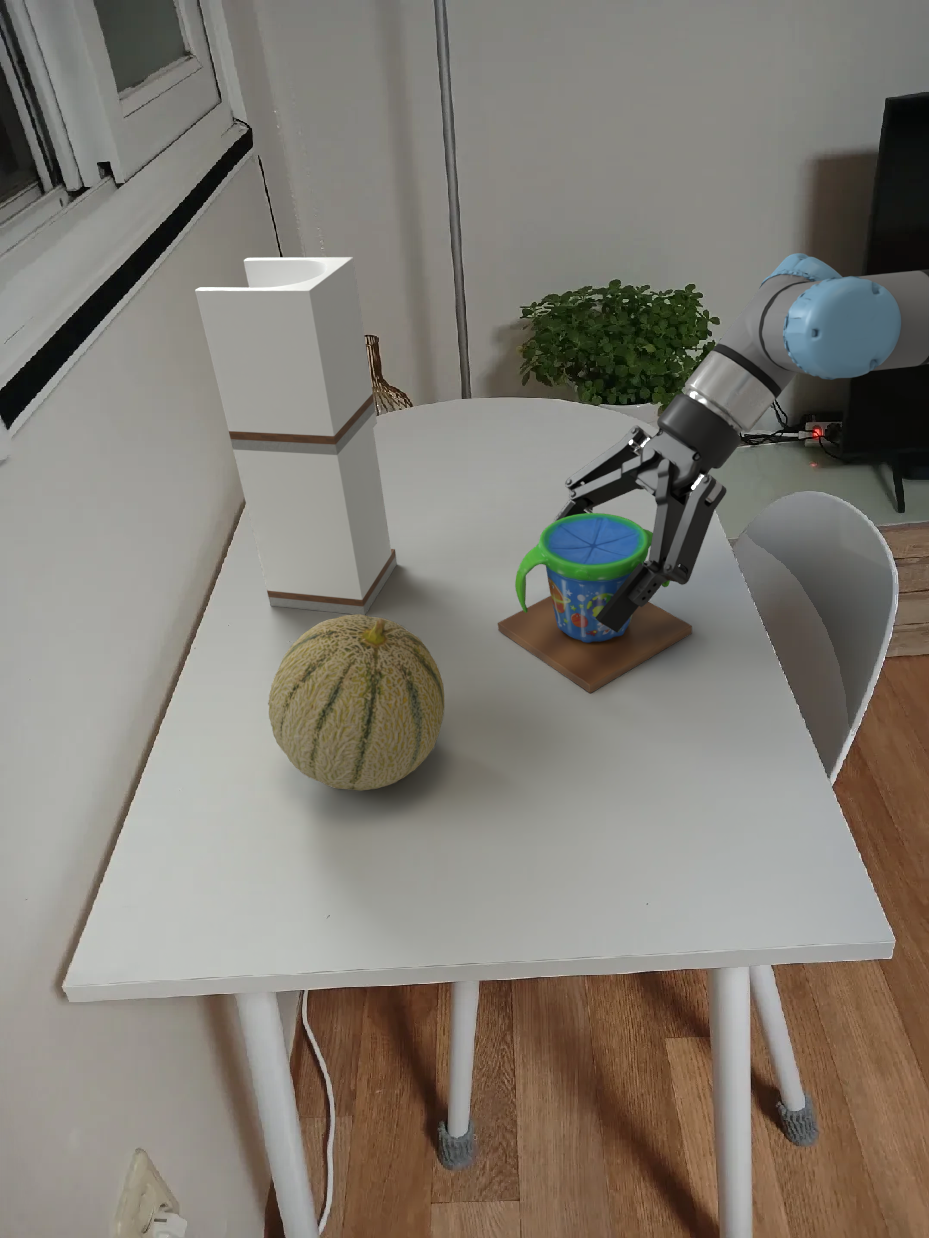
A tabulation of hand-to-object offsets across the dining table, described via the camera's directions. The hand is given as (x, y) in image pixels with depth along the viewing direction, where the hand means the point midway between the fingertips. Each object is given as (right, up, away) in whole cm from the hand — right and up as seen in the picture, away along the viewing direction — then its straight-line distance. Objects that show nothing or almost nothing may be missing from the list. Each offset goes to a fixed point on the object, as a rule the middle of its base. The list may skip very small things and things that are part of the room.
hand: (572, 590), depth 94 cm
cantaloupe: (-19, -16, -9) cm, 26 cm away
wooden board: (+3, -4, +4) cm, 6 cm away
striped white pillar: (-26, +1, +16) cm, 30 cm away
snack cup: (+3, -4, +4) cm, 6 cm away
